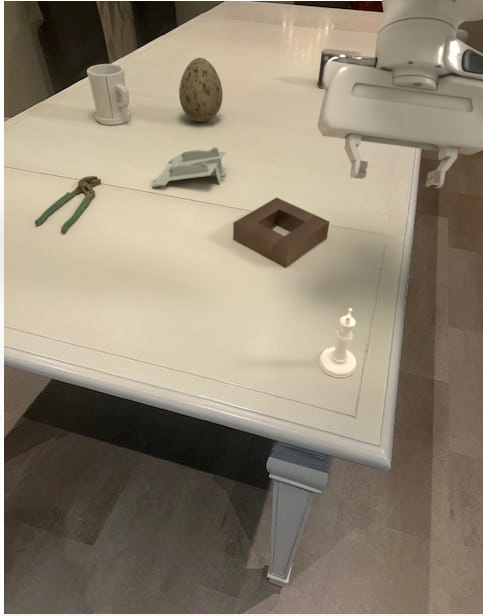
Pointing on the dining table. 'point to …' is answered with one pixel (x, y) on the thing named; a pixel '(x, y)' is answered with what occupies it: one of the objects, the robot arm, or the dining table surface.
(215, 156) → the metal bracket
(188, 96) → the decorative egg
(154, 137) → the dining table surface
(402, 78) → the robot arm
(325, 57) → the camera
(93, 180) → the pliers
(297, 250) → the socket block
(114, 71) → the cup
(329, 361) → the chess piece
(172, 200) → the dining table surface
